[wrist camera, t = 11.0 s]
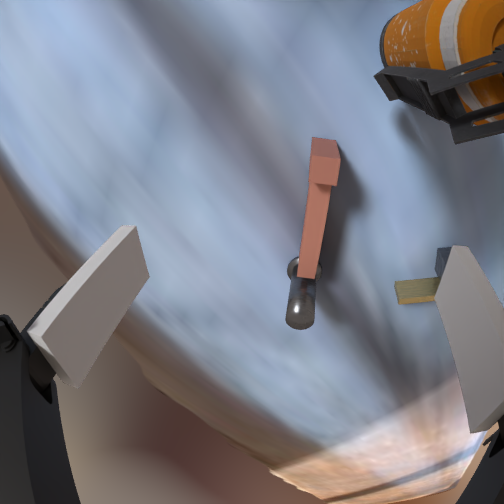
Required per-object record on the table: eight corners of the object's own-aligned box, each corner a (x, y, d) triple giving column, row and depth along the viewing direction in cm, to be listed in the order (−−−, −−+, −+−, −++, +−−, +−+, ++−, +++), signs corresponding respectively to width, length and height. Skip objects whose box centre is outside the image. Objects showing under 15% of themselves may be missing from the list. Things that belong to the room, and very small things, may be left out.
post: (285, 257, 35) (276, 306, 29) (320, 254, 34) (318, 304, 28) (290, 284, 38) (282, 334, 31) (323, 282, 36) (321, 332, 30)
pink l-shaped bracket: (297, 252, 34) (293, 287, 30) (312, 137, 27) (311, 155, 22) (317, 255, 34) (316, 291, 29) (335, 140, 27) (340, 159, 22)
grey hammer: (393, 252, 32) (408, 301, 26) (459, 246, 30) (484, 291, 23) (392, 278, 34) (403, 328, 28) (455, 272, 32) (475, 318, 25)
